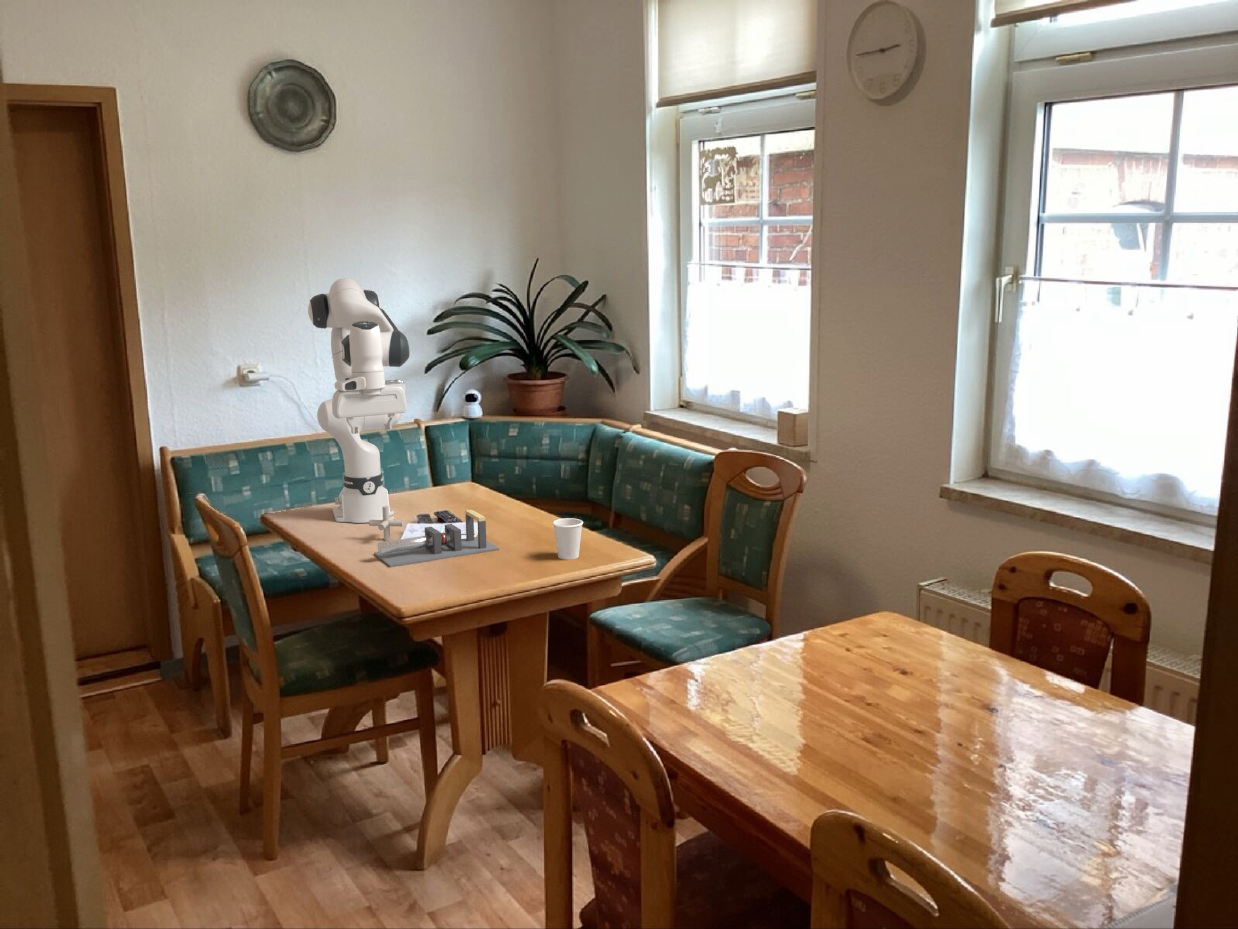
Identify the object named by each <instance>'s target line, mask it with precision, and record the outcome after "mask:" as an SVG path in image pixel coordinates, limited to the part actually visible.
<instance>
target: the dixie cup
mask: <svg viewBox="0 0 1238 929" xmlns="http://www.w3.org/2000/svg"><path fill="white" fill-rule="evenodd" d="M583 524H584V521H583V520H582V519H578V518H571V517H570V518H569V517H567V518H559V519H555V520H554V521H552V525H553V529H554V535H555V542H556V550H557V557H558V559H561V560H567V561H570V560H575V559H578V558H579V556H580V548H581V547H580V546H581V538H582V529H583Z"/></svg>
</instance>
